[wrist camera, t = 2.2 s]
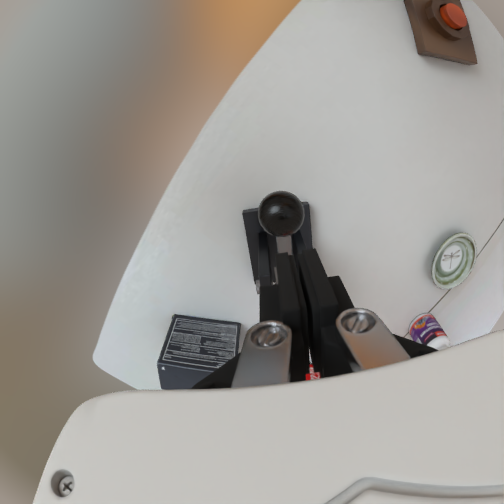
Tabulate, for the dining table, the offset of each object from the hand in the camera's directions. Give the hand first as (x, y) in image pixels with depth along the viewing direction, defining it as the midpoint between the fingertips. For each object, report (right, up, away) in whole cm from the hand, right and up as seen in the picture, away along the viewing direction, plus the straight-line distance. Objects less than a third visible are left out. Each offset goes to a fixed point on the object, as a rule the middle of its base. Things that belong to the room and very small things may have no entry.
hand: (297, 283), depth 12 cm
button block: (+24, +33, +10) cm, 42 cm away
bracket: (+2, +2, +25) cm, 25 cm away
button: (+24, +32, +7) cm, 40 cm away
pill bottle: (+28, -11, +31) cm, 44 cm away
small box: (-9, -12, +32) cm, 35 cm away
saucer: (+29, +1, +25) cm, 39 cm away
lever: (+1, +2, +13) cm, 13 cm away
